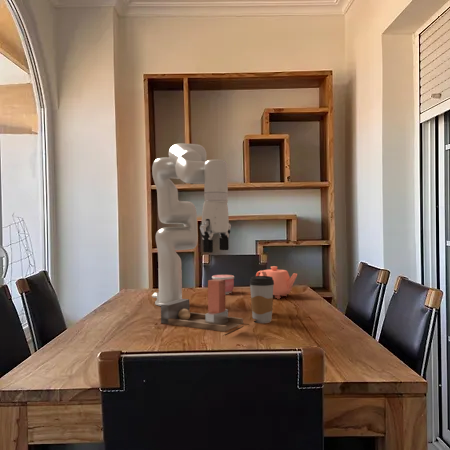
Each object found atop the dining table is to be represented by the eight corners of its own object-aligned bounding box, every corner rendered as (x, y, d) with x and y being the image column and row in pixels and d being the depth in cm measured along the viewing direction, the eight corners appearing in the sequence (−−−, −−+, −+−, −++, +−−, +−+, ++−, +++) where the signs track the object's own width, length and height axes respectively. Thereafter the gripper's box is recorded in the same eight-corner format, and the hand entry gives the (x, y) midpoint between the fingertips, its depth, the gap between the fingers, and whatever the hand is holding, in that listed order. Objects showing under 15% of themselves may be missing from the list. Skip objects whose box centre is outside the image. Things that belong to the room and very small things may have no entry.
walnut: (177, 323, 149) (174, 311, 149) (184, 320, 152) (181, 309, 153) (187, 320, 147) (183, 308, 147) (193, 318, 150) (190, 306, 151)
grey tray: (161, 326, 147) (160, 304, 147) (182, 319, 158) (182, 298, 157) (224, 335, 135) (224, 311, 135) (243, 326, 146) (243, 304, 145)
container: (234, 294, 207) (234, 277, 206) (211, 295, 207) (211, 277, 207) (234, 291, 217) (234, 274, 217) (212, 291, 217) (212, 274, 217)
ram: (204, 326, 141) (203, 281, 140) (218, 320, 148) (218, 278, 148) (215, 327, 139) (214, 282, 138) (229, 321, 146) (229, 278, 146)
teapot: (298, 298, 195) (298, 267, 195) (262, 301, 190) (261, 269, 190) (284, 292, 211) (283, 264, 210) (249, 295, 206) (249, 265, 206)
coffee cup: (276, 319, 156) (276, 276, 156) (271, 324, 148) (270, 279, 148) (253, 317, 159) (253, 275, 158) (246, 323, 151) (246, 278, 150)
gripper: (220, 199, 155) (220, 248, 156) (191, 197, 140) (191, 252, 141) (239, 198, 151) (239, 249, 152) (211, 197, 136) (211, 253, 137)
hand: (216, 251), depth 146 cm, fingers open, 9 cm apart
